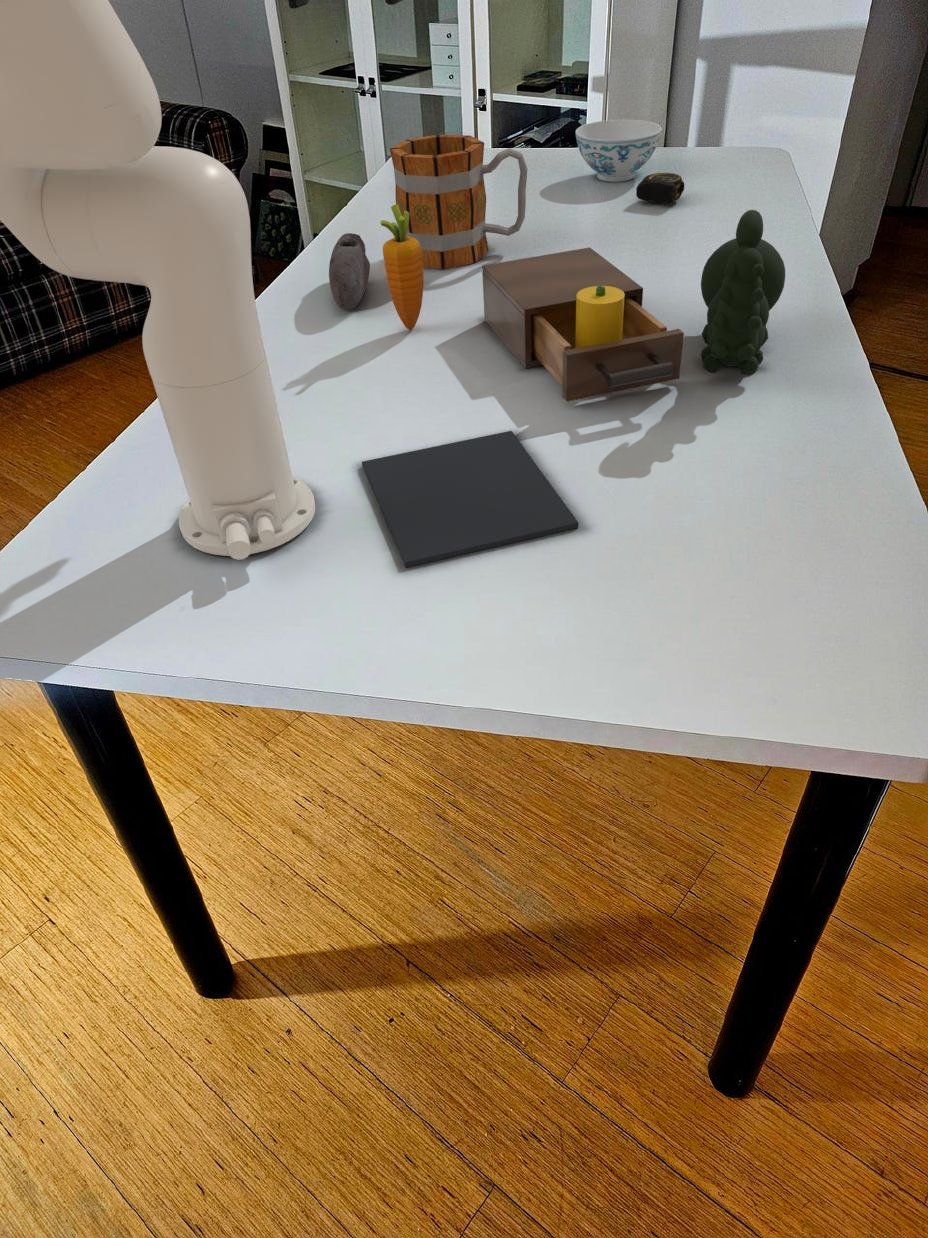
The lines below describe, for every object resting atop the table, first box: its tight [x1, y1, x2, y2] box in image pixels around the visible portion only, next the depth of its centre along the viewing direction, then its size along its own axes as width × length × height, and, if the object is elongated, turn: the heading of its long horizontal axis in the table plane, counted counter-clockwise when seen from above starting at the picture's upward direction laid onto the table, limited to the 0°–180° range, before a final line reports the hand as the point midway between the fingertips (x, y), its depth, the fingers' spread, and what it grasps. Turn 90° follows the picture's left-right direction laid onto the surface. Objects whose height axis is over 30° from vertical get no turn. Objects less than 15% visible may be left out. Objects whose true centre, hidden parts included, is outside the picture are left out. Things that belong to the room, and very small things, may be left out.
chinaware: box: [575, 119, 662, 183], centre depth 159 cm, size 15×15×8 cm
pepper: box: [575, 285, 625, 349], centre depth 98 cm, size 5×5×8 cm
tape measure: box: [635, 172, 685, 205], centre depth 148 cm, size 7×7×4 cm
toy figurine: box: [699, 209, 786, 376], centre depth 99 cm, size 9×19×25 cm
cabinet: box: [481, 246, 644, 369], centre depth 109 cm, size 16×15×7 cm
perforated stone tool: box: [328, 232, 371, 312], centre depth 122 cm, size 15×5×7 cm, turn 178°
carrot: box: [379, 204, 425, 331], centre depth 110 cm, size 5×5×15 cm
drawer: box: [531, 297, 685, 402], centre depth 99 cm, size 19×13×5 cm
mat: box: [361, 430, 579, 568], centre depth 84 cm, size 18×16×1 cm
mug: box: [389, 134, 529, 270], centre depth 131 cm, size 20×14×15 cm
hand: (346, 4), depth 83 cm, fingers open, 9 cm apart
